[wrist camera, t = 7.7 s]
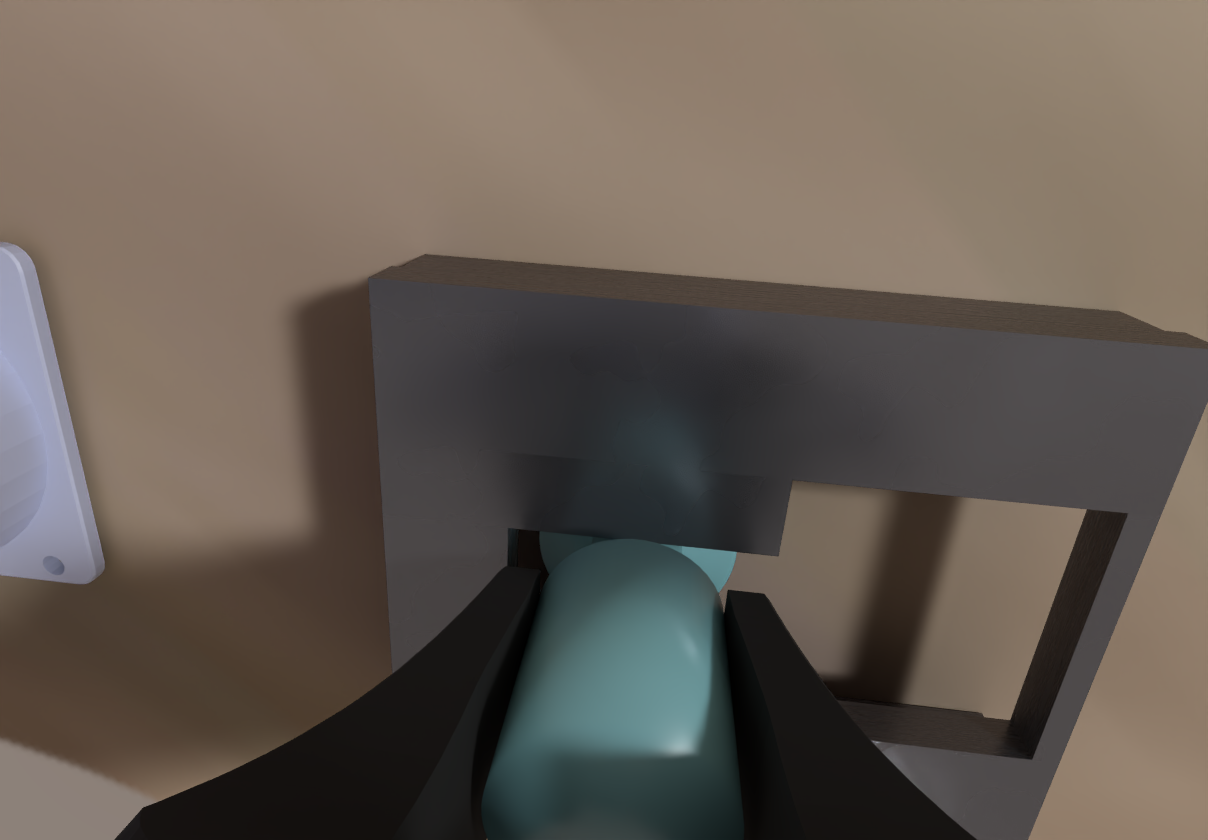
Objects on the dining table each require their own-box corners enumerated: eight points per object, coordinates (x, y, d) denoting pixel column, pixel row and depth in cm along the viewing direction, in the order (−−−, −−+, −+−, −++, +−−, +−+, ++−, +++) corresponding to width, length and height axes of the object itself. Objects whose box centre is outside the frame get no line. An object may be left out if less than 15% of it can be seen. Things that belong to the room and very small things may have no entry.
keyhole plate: (438, 691, 18) (399, 785, 16) (424, 248, 14) (368, 277, 12) (968, 754, 18) (1018, 864, 15) (1121, 306, 13) (1228, 350, 11)
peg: (549, 591, 17) (461, 920, 10) (544, 430, 15) (435, 686, 8) (726, 602, 16) (763, 949, 9) (740, 437, 15) (795, 710, 8)
